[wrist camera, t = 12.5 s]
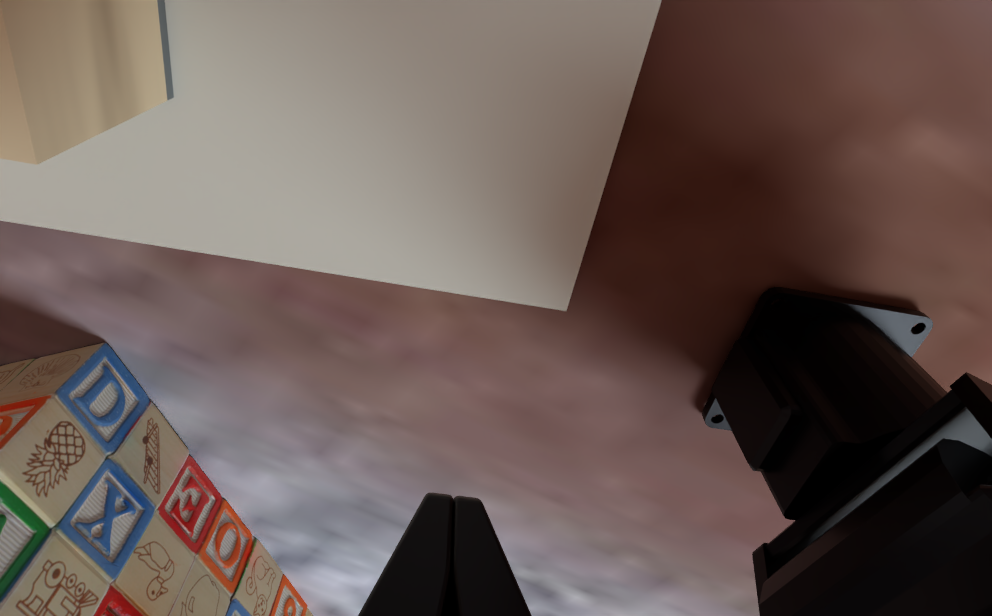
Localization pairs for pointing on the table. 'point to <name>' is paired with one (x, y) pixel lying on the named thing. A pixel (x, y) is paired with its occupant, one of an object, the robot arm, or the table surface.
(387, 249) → the rubber mat
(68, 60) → the beech block
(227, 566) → the stack of blocks
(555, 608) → the table surface
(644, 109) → the table surface
